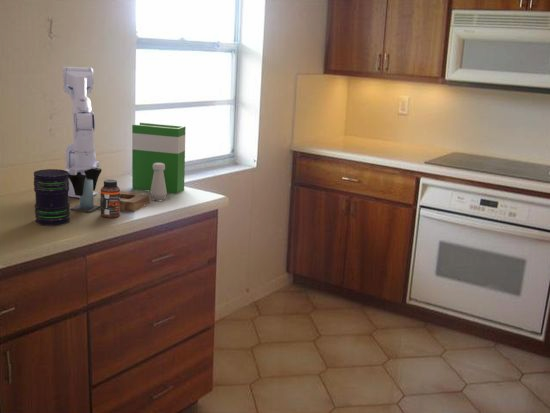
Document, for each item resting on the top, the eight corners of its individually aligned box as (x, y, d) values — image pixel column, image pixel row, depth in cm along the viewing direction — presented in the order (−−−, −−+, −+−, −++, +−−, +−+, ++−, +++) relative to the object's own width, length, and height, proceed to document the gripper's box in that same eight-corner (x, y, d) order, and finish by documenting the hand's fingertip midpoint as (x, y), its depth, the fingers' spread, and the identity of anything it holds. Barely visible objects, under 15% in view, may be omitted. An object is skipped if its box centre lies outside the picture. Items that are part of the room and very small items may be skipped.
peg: (78, 208, 197) (77, 181, 195) (82, 205, 201) (82, 178, 199) (91, 209, 197) (90, 182, 195) (95, 206, 201) (94, 179, 199)
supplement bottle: (110, 219, 190) (109, 183, 187) (96, 215, 193) (95, 180, 190) (124, 215, 195) (124, 180, 192) (110, 212, 198) (110, 177, 195)
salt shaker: (163, 202, 214) (163, 165, 210) (147, 200, 215) (147, 163, 211) (169, 198, 219) (169, 162, 216) (154, 196, 220) (154, 160, 217)
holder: (100, 207, 203) (100, 198, 202) (117, 199, 214) (117, 190, 213) (133, 211, 200) (133, 202, 199) (149, 203, 211) (149, 194, 211)
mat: (70, 210, 197) (70, 208, 197) (81, 205, 204) (81, 203, 204) (89, 213, 196) (89, 211, 195) (101, 207, 202) (100, 206, 202)
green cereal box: (132, 189, 229) (132, 124, 223) (140, 185, 236) (140, 122, 230) (177, 194, 226) (178, 128, 220) (184, 189, 233) (185, 126, 227)
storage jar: (36, 227, 179) (33, 176, 175) (34, 217, 187) (32, 169, 183) (72, 224, 183) (70, 175, 179) (68, 215, 191) (67, 168, 187)
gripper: (83, 156, 187) (84, 199, 191) (107, 149, 201) (107, 189, 204) (62, 153, 189) (64, 196, 192) (87, 146, 202) (88, 187, 206)
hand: (85, 192), depth 198 cm, fingers open, 7 cm apart
